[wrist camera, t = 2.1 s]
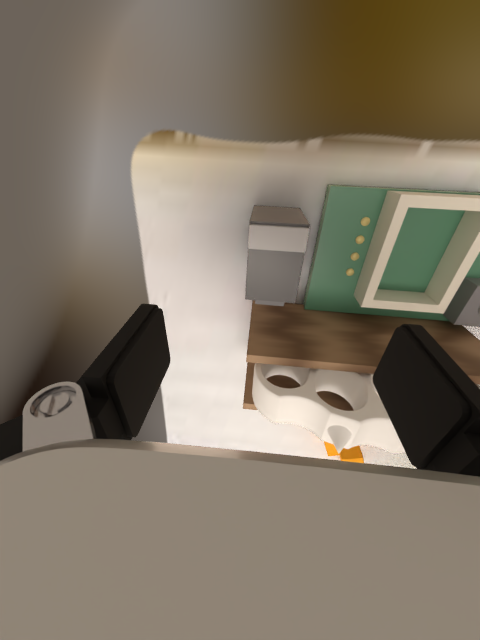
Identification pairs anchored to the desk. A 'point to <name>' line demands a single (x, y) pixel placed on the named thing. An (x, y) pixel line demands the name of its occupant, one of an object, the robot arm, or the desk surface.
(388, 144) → the desk surface
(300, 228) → the plug
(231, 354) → the desk surface
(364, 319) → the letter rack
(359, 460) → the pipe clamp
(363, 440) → the white curved piece
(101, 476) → the robot arm
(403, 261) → the board
